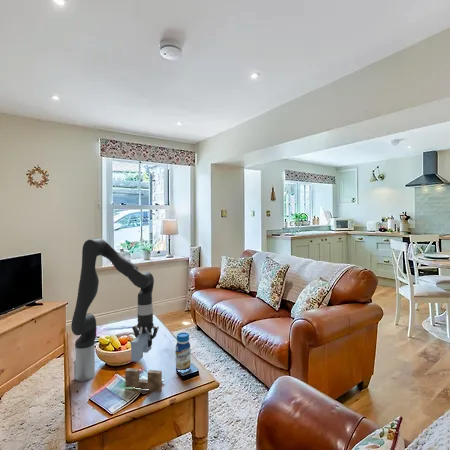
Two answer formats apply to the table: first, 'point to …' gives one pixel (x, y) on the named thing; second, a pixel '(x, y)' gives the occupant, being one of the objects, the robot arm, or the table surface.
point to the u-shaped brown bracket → (144, 380)
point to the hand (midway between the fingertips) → (145, 346)
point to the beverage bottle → (183, 352)
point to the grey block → (139, 347)
